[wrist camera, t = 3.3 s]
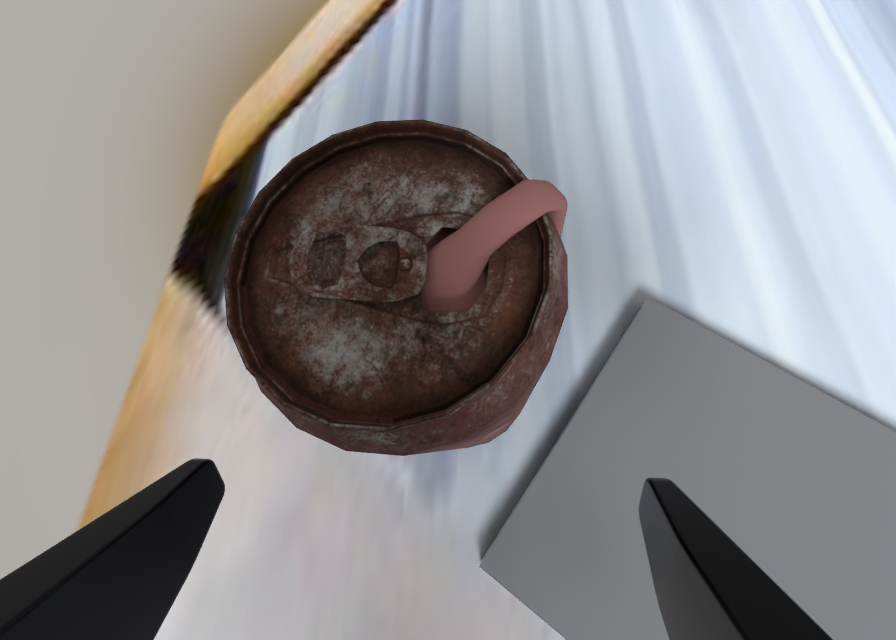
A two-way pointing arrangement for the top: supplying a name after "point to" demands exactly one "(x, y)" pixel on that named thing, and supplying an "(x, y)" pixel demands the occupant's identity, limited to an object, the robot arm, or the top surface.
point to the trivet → (705, 488)
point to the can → (399, 288)
